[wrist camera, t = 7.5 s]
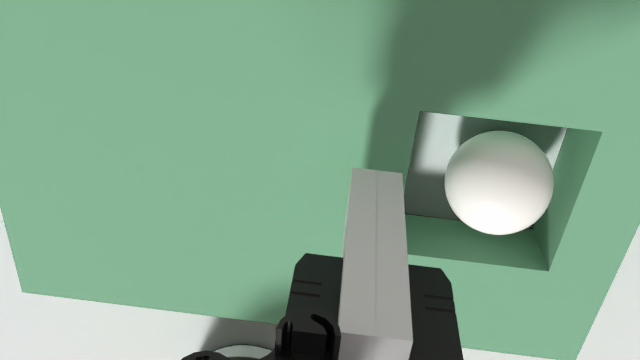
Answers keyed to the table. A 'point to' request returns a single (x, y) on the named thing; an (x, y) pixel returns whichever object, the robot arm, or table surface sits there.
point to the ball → (499, 182)
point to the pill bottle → (243, 352)
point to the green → (309, 149)
